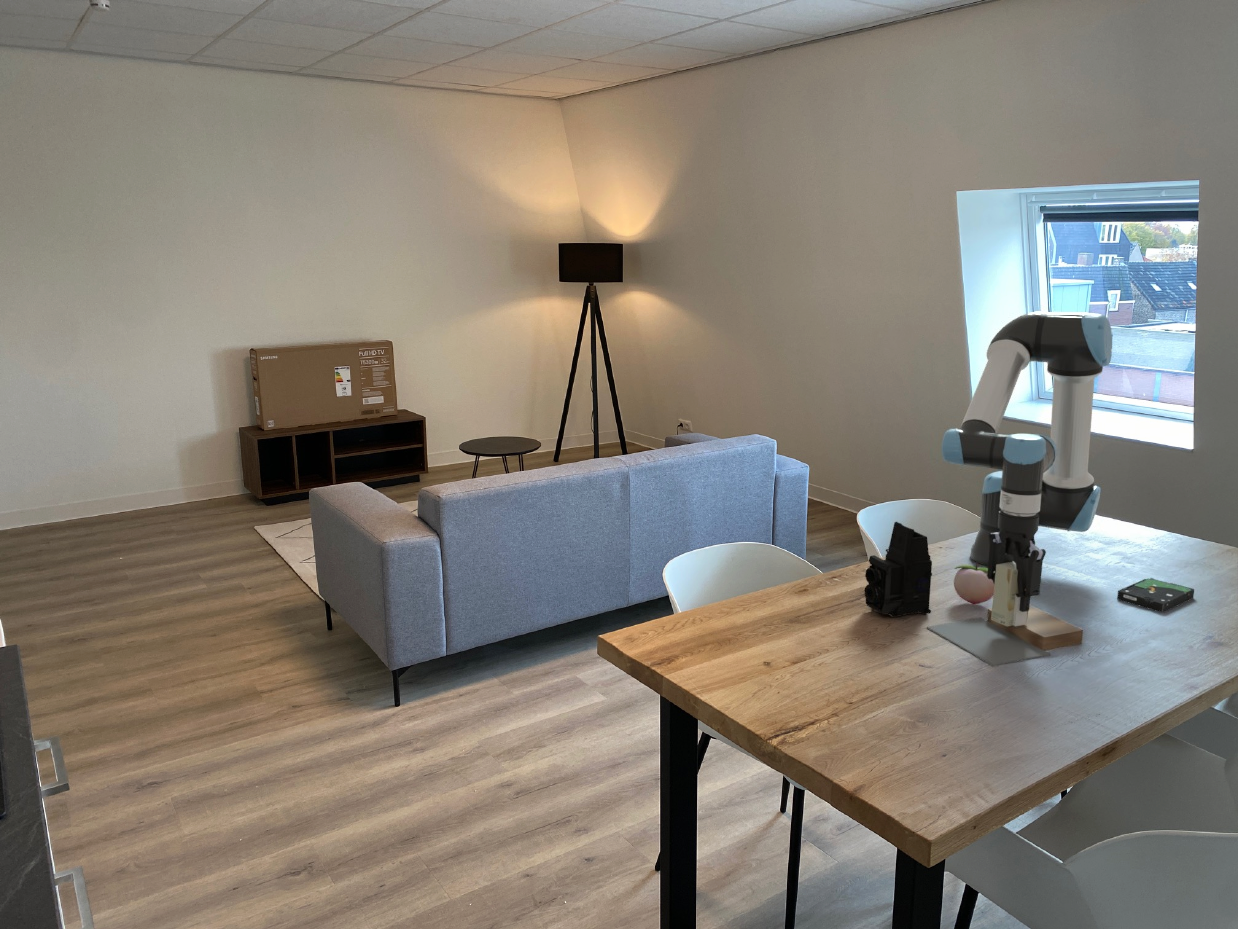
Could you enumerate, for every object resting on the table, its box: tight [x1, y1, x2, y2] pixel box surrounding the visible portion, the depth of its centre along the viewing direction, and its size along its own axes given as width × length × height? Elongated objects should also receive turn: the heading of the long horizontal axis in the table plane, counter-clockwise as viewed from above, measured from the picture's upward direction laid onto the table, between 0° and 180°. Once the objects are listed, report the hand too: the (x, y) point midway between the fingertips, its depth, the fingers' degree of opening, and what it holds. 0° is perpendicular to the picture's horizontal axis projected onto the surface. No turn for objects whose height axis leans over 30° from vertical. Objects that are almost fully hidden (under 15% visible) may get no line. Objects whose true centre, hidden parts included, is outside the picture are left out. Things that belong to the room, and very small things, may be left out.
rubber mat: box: [926, 617, 1051, 667], centre depth 191 cm, size 20×14×1 cm
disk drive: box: [1117, 577, 1195, 613], centre depth 213 cm, size 10×3×15 cm
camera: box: [864, 521, 933, 618], centre depth 205 cm, size 10×14×20 cm
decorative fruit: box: [953, 562, 995, 605], centre depth 209 cm, size 9×8×10 cm
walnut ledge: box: [986, 604, 1084, 652], centre depth 195 cm, size 16×10×3 cm, turn 19°
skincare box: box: [991, 561, 1028, 626], centre depth 191 cm, size 6×4×12 cm
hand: (1009, 619), depth 192 cm, fingers closed on skincare box, 5 cm apart
